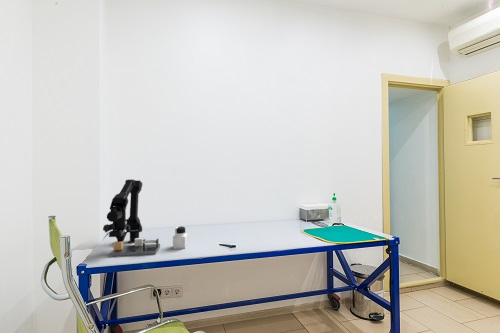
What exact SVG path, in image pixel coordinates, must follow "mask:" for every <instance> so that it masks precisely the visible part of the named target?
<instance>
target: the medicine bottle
mask: <svg viewBox="0 0 500 333" xmlns="http://www.w3.org/2000/svg"><path fill="white" fill-rule="evenodd" d="M187 246H188V233H186V227H185V226H176V227H175V228H174V235H173V236H172V250H173V249H175V250H178V249H180V250H182V249H186V248H187Z"/></svg>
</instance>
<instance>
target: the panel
mask: <svg viewBox="0 0 500 333" xmlns="http://www.w3.org/2000/svg"><path fill="white" fill-rule="evenodd" d="M143 241H146V239H145V238H143ZM155 241H156V243H143V245H142V246H135V244H132V245H131V244H129V245H128V244H127V245H123V249H122V250H114V248H113V249H112V250H111V251H110V252H108V254H109V255H108V257H110V258H113V257H114V258H115V257H117V258H118V257H128V256H129V257H131V256H132V257H133V256H134V257H135V256H149V255H151V256H153V255H156V254H157V253H158V252H159V250H160V249H161V243H159V242H160V239H159V238H156V240H155Z"/></svg>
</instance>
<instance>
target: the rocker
mask: <svg viewBox="0 0 500 333" xmlns="http://www.w3.org/2000/svg"><path fill="white" fill-rule="evenodd" d="M143 243H145V244H156V240H155V239H153V240H145V241H143Z"/></svg>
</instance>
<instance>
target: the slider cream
mask: <svg viewBox="0 0 500 333" xmlns="http://www.w3.org/2000/svg"><path fill="white" fill-rule="evenodd" d="M143 239H144V237H139V238H136V239H135V242H134V245H135V246H142V245H143Z"/></svg>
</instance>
